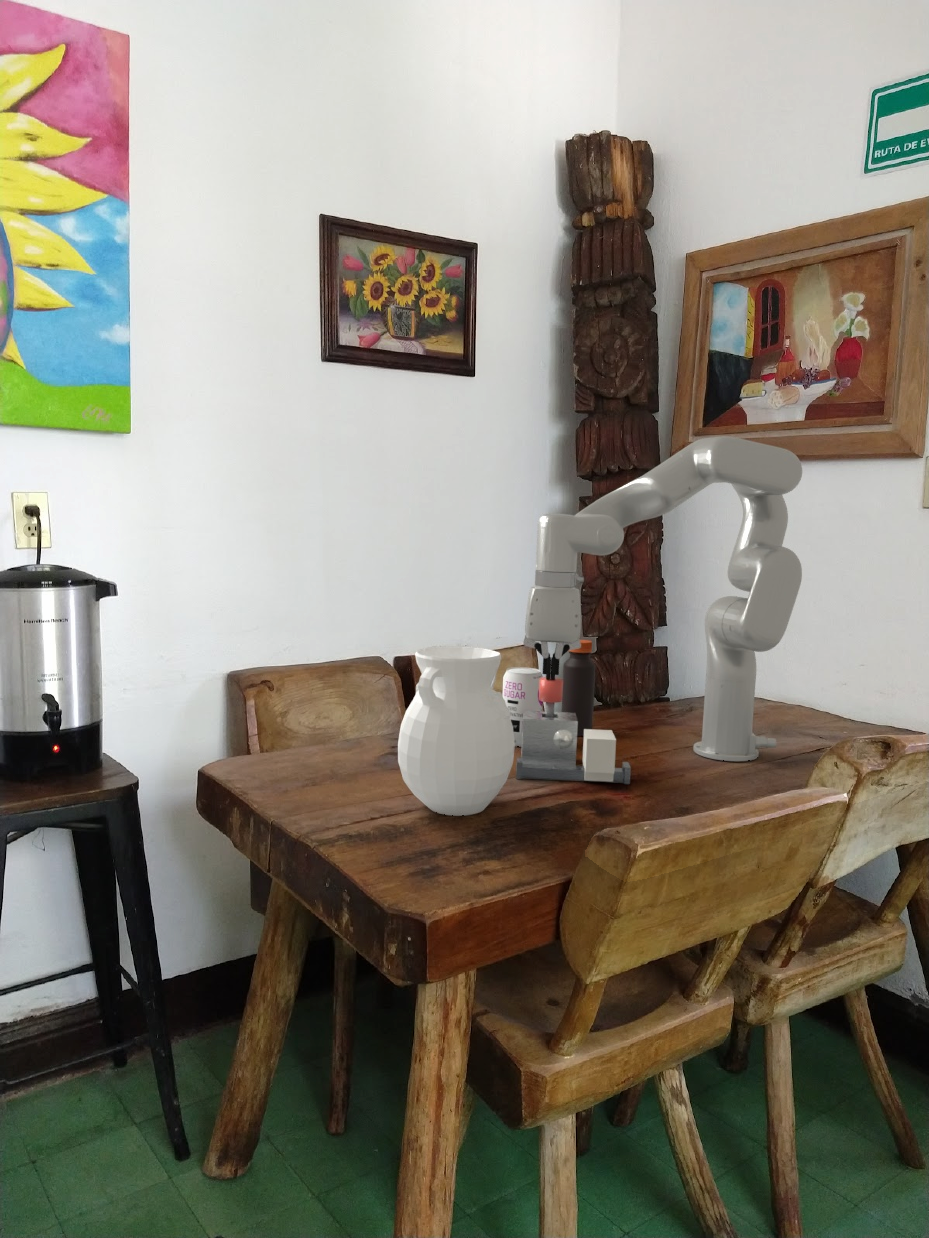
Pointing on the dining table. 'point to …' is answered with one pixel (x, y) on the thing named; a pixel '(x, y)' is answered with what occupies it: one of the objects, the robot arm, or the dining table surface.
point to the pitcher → (456, 731)
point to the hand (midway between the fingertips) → (550, 678)
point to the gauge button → (550, 693)
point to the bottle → (579, 686)
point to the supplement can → (521, 696)
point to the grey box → (549, 738)
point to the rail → (565, 772)
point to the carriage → (599, 755)
